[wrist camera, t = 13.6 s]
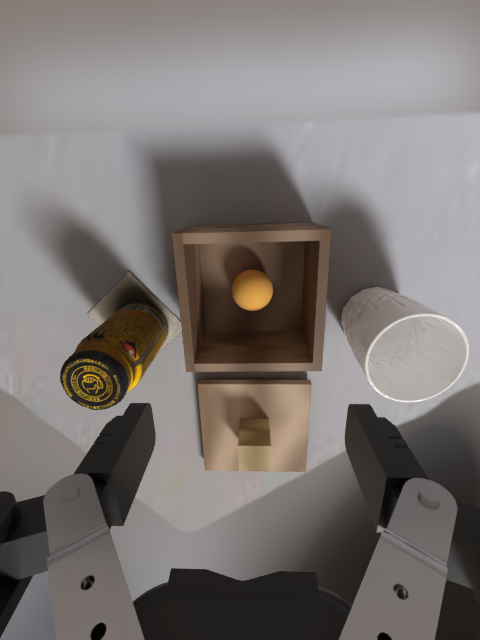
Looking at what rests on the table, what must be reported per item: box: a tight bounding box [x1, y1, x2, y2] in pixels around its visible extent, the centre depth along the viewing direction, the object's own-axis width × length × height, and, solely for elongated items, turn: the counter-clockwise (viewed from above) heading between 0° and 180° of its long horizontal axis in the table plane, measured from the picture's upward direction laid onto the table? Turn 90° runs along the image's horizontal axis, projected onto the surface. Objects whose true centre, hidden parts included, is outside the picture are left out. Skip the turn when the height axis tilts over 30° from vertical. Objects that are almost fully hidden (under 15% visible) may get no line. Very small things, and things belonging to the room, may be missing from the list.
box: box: [172, 222, 331, 372], centre depth 30 cm, size 12×12×8 cm
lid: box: [198, 380, 312, 472], centre depth 37 cm, size 13×13×6 cm
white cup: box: [341, 287, 469, 402], centre depth 29 cm, size 8×8×10 cm
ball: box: [232, 270, 273, 311], centre depth 31 cm, size 4×4×4 cm
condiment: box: [60, 272, 182, 410], centre depth 30 cm, size 7×8×12 cm
